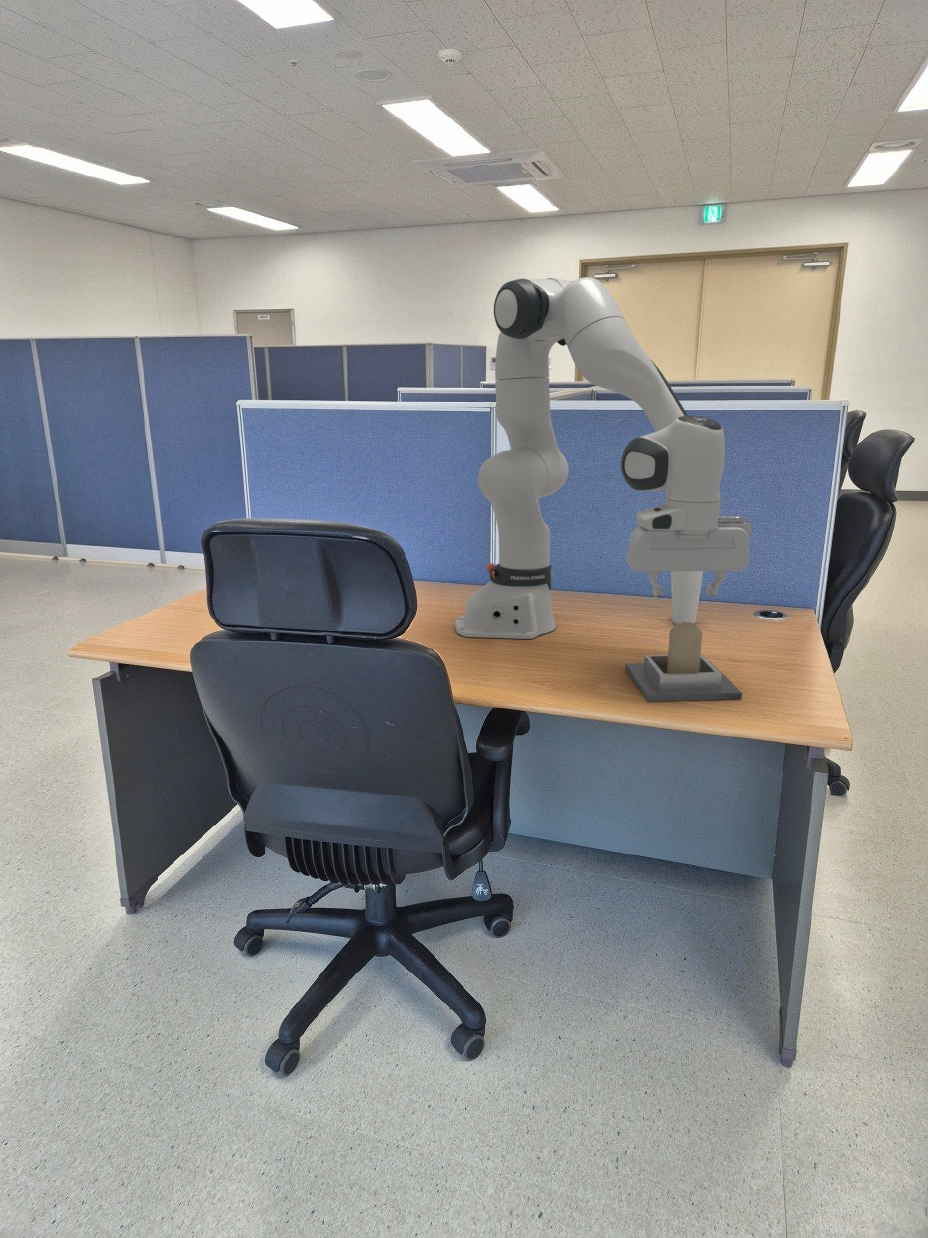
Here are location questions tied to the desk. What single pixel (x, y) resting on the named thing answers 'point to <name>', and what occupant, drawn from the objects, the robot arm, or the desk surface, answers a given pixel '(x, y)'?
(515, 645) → the desk surface
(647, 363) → the robot arm
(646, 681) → the candle stand
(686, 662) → the candle
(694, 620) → the drinking glass
